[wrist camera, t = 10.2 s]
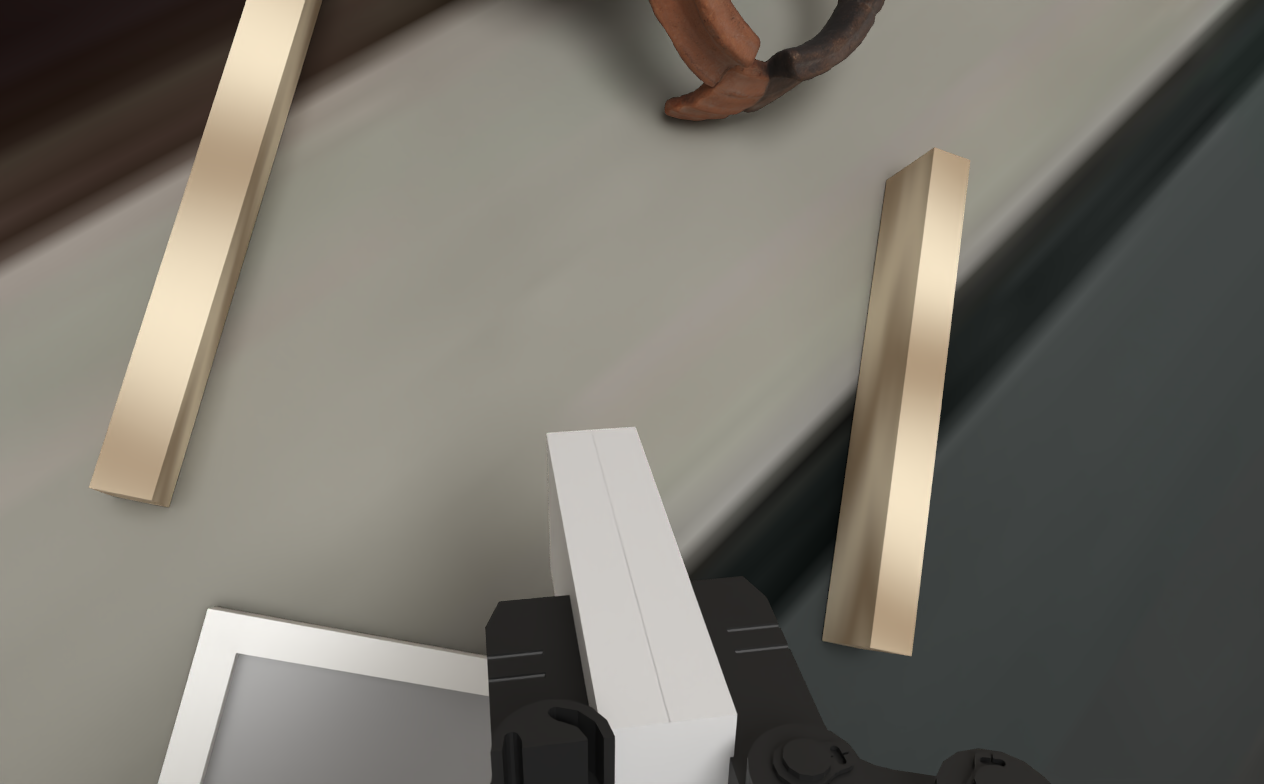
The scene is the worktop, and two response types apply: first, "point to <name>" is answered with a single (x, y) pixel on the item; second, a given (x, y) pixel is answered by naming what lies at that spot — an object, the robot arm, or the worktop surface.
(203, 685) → the tray
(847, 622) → the guide channel
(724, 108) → the broken clay vessel
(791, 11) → the worktop surface
